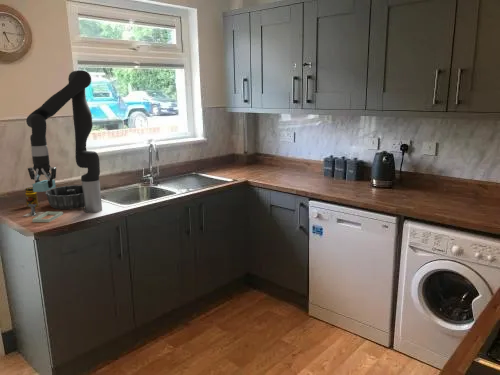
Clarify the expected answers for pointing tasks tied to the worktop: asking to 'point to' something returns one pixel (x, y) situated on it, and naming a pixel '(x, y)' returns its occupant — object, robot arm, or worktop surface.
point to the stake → (33, 211)
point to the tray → (38, 218)
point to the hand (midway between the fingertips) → (44, 187)
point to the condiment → (31, 197)
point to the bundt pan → (66, 197)
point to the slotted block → (42, 186)
